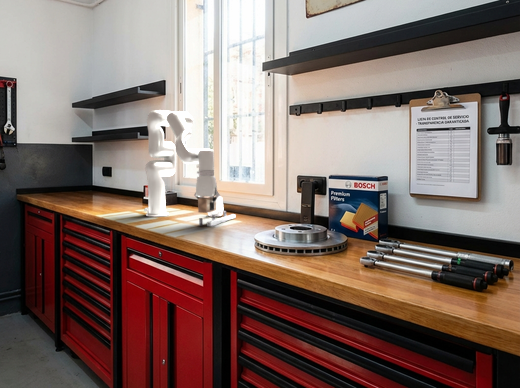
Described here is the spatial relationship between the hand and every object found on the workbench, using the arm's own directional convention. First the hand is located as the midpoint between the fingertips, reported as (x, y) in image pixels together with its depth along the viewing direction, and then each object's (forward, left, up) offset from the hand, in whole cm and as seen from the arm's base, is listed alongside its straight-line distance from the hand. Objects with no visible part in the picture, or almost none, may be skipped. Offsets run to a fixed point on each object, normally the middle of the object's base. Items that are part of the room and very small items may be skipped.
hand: (207, 209), depth 207 cm
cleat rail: (+5, +7, -7) cm, 11 cm away
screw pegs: (0, +7, -7) cm, 10 cm away
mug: (-7, +24, -7) cm, 26 cm away
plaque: (0, 0, -1) cm, 1 cm away
